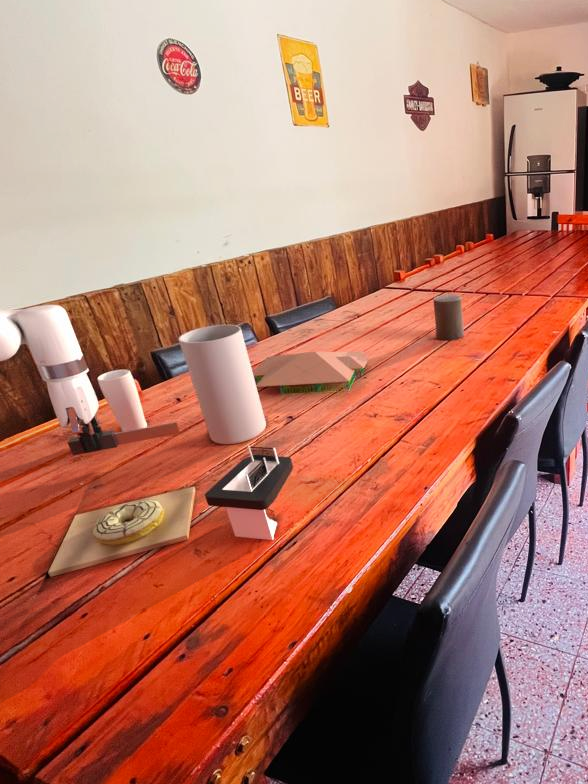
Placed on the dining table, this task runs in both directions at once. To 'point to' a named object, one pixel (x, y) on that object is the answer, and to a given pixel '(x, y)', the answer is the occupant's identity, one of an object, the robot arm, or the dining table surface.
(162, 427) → the knife
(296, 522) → the dining table surface
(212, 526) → the dining table surface
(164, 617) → the dining table surface
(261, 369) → the house
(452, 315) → the pillar candle
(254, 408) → the cylinder vase
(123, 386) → the white mug
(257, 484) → the black-topped pedestal
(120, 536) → the decorated donut
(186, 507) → the cutting board
